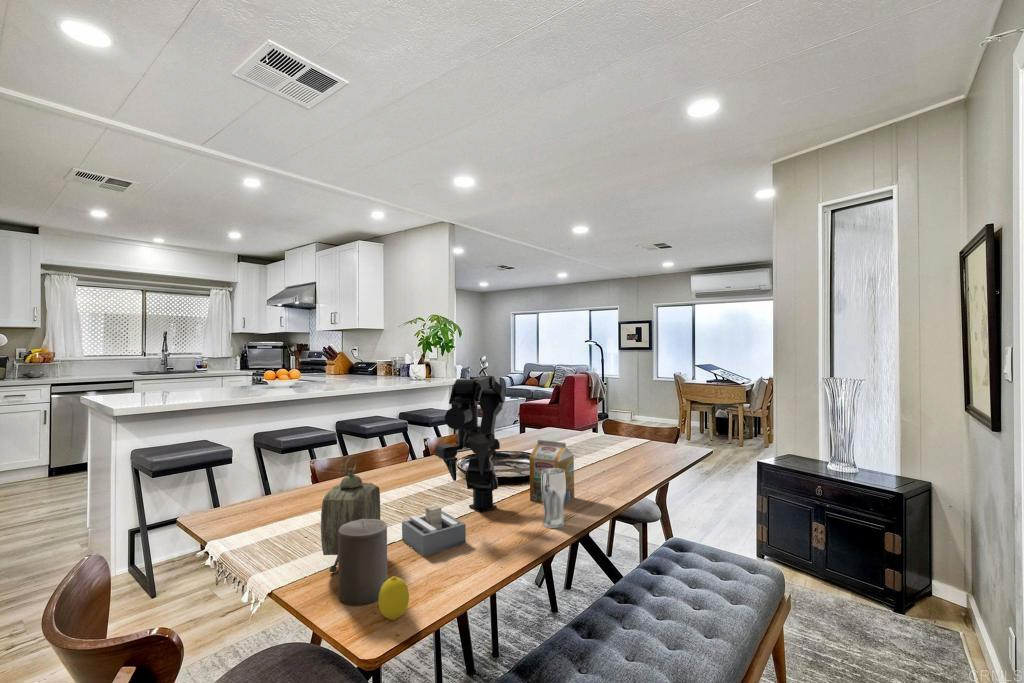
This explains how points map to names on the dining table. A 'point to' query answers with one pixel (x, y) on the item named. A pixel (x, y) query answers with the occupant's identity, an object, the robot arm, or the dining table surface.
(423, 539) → the grey divided tray
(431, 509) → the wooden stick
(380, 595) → the lemon
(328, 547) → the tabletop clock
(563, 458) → the milk carton
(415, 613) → the dining table surface
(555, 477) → the beer glass
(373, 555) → the pillar candle
